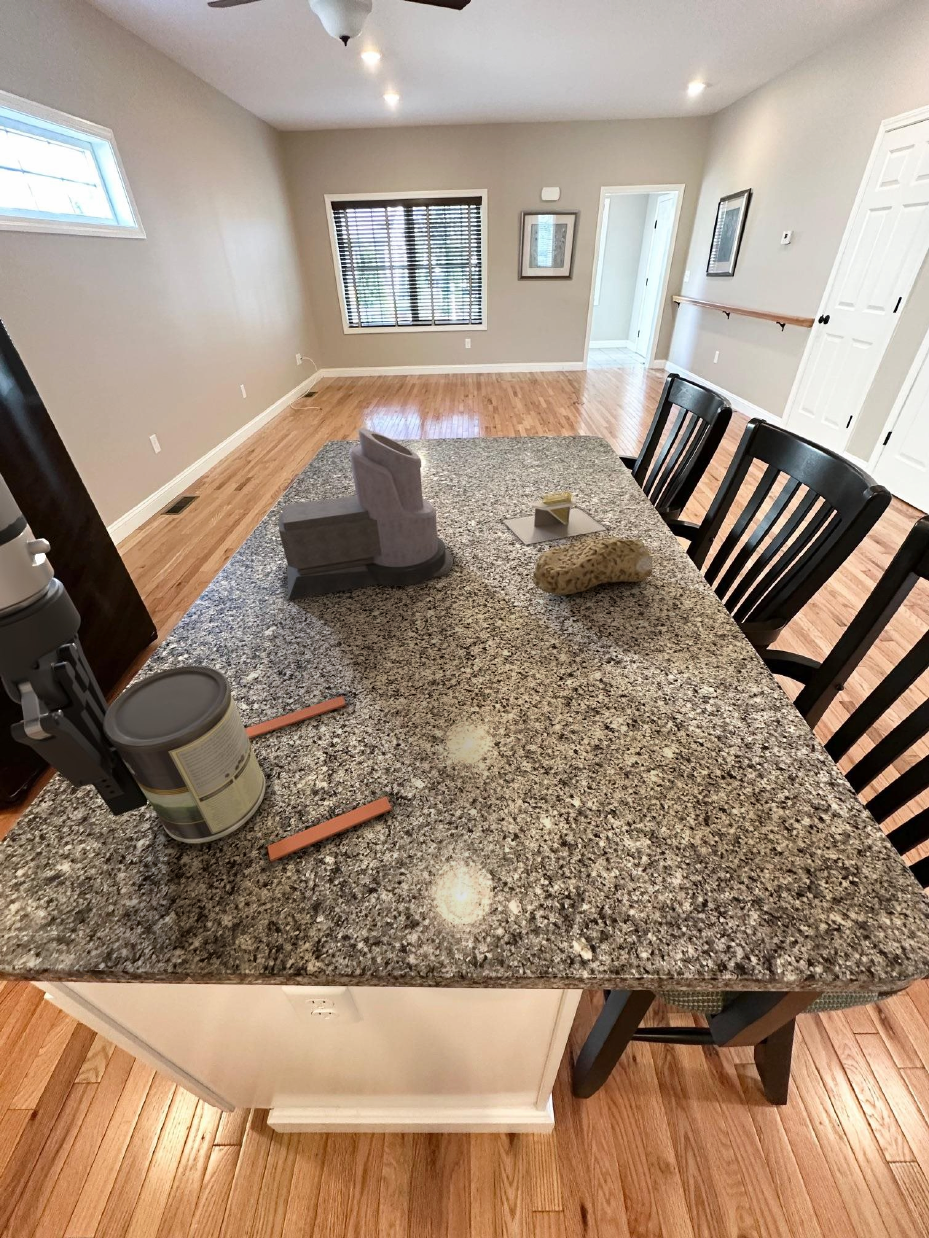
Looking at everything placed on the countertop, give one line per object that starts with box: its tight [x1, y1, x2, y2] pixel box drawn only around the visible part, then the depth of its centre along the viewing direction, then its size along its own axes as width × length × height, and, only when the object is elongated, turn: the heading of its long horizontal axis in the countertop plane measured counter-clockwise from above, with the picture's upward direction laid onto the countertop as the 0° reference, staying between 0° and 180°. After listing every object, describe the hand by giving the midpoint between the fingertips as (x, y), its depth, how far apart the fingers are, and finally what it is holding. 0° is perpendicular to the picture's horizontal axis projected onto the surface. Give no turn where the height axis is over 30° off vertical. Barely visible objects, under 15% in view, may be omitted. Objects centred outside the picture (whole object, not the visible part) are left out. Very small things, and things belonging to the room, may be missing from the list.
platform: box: [502, 490, 607, 545], centre depth 105 cm, size 12×18×7 cm, turn 109°
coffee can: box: [103, 665, 267, 844], centre depth 50 cm, size 10×10×14 cm
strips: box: [244, 695, 393, 862], centre depth 57 cm, size 12×19×1 cm, turn 26°
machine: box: [278, 427, 454, 601], centre depth 87 cm, size 30×16×24 cm, turn 107°
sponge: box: [532, 537, 653, 596], centre depth 85 cm, size 13×8×20 cm
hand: (131, 804), depth 49 cm, fingers closed
